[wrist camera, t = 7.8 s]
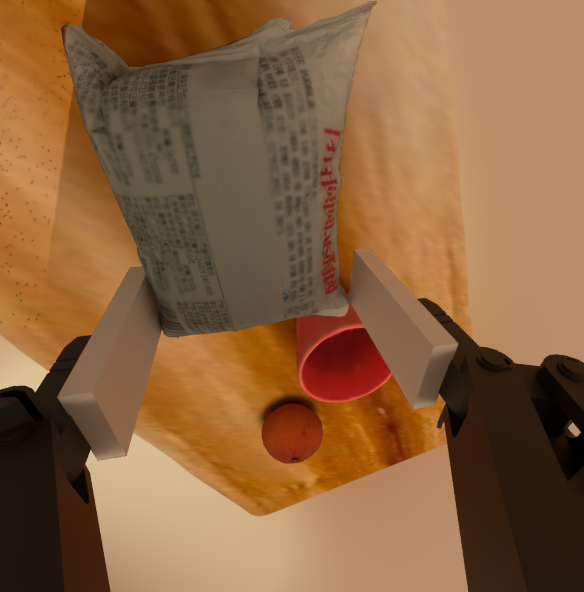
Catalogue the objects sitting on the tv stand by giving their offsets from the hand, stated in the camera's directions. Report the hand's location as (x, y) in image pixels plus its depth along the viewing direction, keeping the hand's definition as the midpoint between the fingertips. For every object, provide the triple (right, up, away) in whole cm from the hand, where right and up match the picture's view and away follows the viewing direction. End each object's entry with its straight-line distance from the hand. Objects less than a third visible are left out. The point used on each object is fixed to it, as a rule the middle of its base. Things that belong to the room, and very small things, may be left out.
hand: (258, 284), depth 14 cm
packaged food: (+1, +3, +3) cm, 4 cm away
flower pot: (+6, -3, +25) cm, 26 cm away
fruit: (+1, -19, +35) cm, 40 cm away
